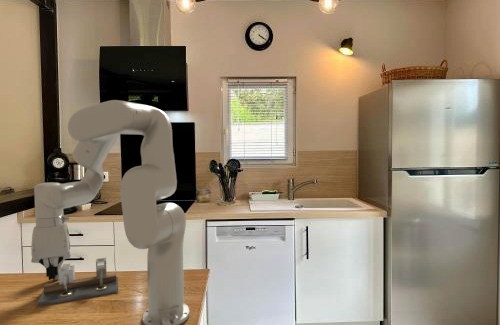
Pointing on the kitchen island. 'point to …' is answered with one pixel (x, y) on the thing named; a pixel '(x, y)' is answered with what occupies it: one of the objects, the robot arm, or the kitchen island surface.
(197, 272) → the kitchen island surface
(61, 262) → the lightbulb
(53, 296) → the bolt plate
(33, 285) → the kitchen island surface
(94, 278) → the frame
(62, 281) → the sliding leg
